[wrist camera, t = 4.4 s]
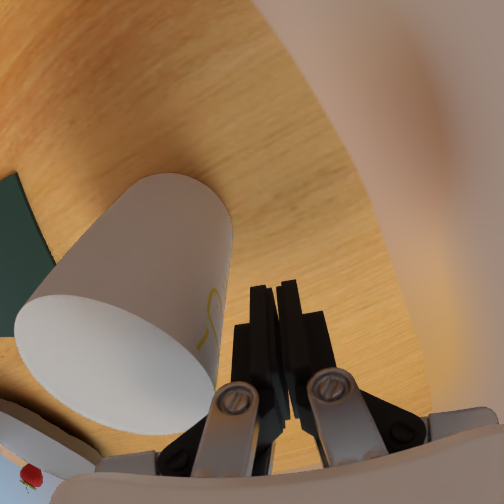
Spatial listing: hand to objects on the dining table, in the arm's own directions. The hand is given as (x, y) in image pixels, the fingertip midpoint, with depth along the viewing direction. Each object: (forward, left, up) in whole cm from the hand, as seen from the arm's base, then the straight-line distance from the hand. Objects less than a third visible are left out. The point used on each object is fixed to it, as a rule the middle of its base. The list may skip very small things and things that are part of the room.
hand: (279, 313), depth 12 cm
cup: (0, -6, -10) cm, 12 cm away
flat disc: (+31, -44, -10) cm, 55 cm away
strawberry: (+50, -65, -10) cm, 83 cm away
